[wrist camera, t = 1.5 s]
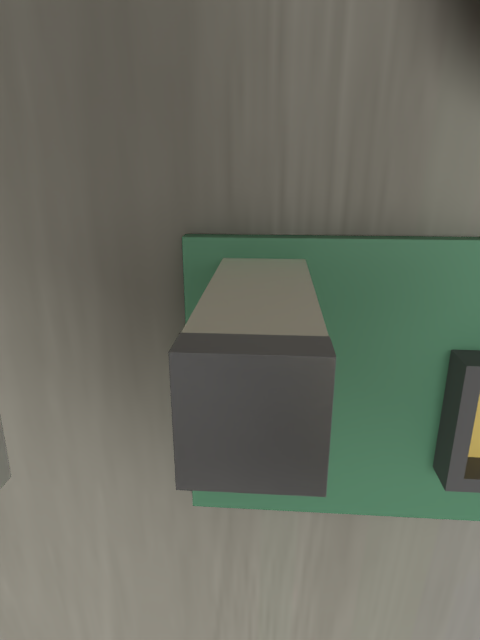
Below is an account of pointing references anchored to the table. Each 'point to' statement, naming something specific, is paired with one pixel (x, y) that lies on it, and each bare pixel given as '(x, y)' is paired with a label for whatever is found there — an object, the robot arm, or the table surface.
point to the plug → (254, 383)
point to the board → (381, 368)
